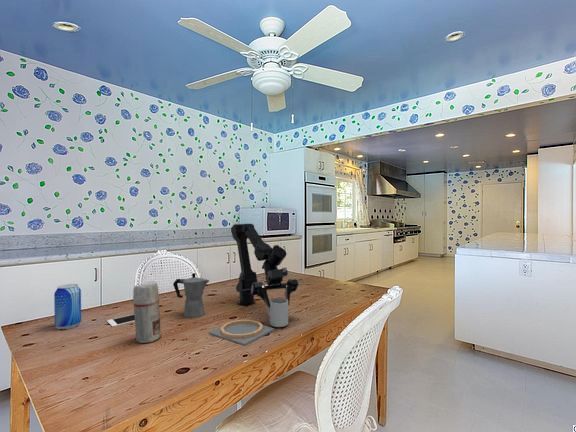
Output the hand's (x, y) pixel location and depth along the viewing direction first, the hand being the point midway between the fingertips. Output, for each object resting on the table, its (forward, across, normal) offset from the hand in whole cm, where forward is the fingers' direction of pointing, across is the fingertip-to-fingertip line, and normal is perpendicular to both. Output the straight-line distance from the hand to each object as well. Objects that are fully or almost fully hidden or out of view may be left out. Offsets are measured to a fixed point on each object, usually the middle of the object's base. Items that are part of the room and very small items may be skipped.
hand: (279, 306), depth 116 cm
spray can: (+3, -47, +8) cm, 48 cm away
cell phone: (-14, -55, +26) cm, 63 cm away
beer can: (-13, -78, +25) cm, 83 cm away
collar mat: (+6, -15, +5) cm, 17 cm away
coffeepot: (-12, -32, +24) cm, 42 cm away
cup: (+4, -1, +6) cm, 7 cm away
